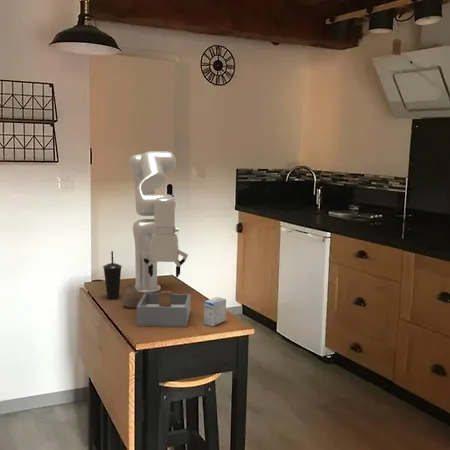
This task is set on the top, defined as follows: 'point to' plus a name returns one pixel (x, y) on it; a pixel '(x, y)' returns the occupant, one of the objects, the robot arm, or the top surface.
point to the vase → (131, 297)
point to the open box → (164, 311)
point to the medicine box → (214, 311)
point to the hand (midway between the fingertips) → (164, 276)
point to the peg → (165, 299)
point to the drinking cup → (112, 279)
